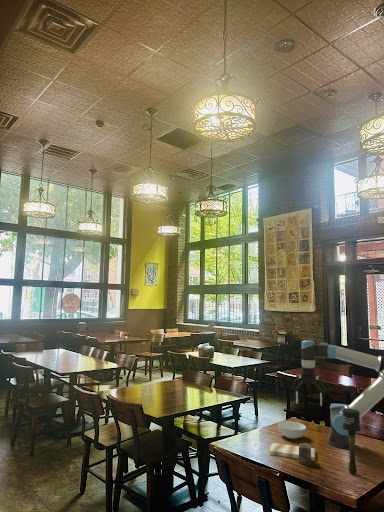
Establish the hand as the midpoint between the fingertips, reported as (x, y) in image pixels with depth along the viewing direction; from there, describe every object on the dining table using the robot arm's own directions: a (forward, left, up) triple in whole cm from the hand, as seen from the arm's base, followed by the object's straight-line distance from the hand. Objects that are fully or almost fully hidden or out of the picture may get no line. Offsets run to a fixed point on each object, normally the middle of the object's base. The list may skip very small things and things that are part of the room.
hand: (308, 404), depth 223 cm
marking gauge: (+2, +15, -25) cm, 29 cm away
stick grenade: (-21, +27, -25) cm, 42 cm away
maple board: (+9, +12, -25) cm, 29 cm away
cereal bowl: (+11, -16, -25) cm, 32 cm away
